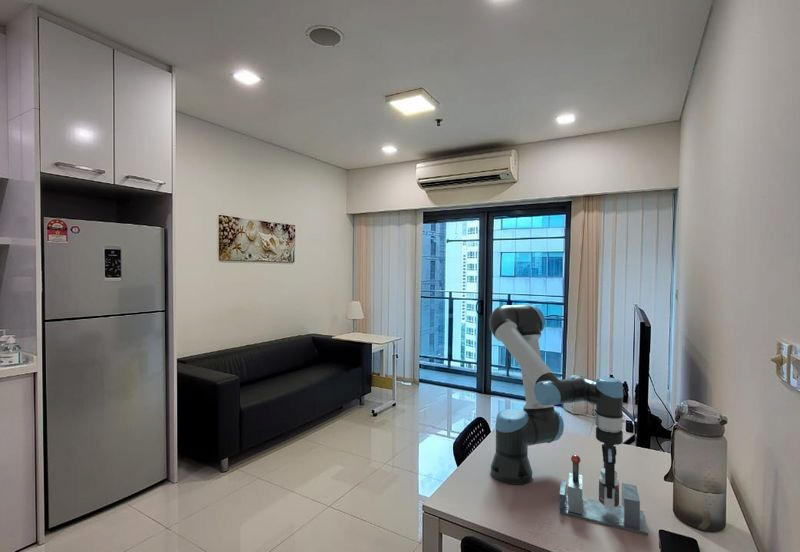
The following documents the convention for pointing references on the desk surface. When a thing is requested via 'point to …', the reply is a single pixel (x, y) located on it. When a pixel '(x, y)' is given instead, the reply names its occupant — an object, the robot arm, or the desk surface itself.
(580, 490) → the free jaw
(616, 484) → the pill bottle
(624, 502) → the vise body
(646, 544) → the desk surface
